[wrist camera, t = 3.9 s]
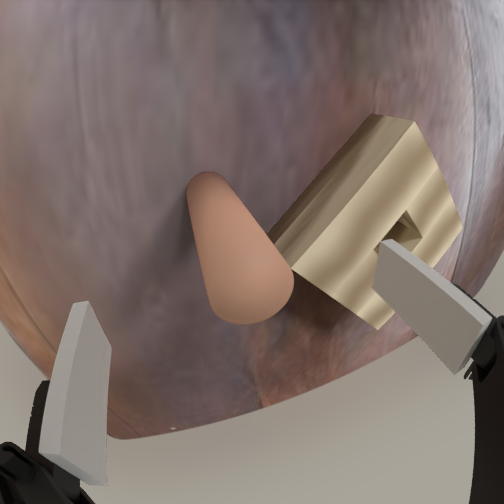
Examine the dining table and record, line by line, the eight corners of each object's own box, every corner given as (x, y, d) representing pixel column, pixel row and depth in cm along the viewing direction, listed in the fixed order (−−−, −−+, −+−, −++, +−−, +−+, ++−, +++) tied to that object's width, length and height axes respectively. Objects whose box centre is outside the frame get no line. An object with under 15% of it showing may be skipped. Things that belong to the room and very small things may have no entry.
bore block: (266, 235, 27) (290, 268, 22) (371, 113, 23) (414, 121, 18) (352, 299, 35) (377, 329, 30) (429, 208, 31) (462, 227, 26)
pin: (177, 197, 23) (190, 304, 11) (204, 163, 22) (248, 234, 10) (210, 220, 25) (255, 334, 13) (237, 188, 24) (309, 278, 12)
